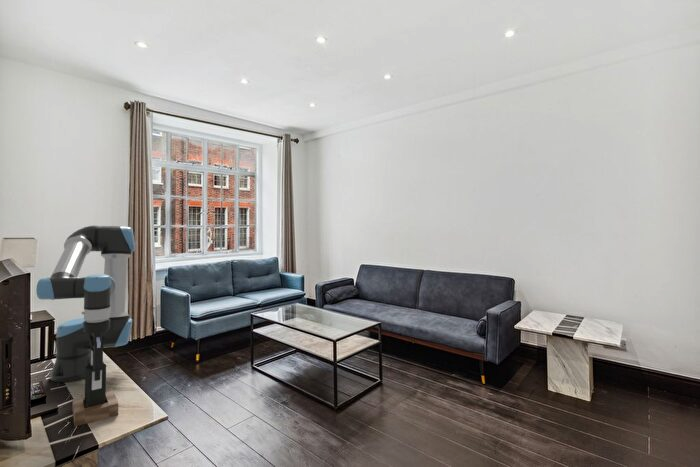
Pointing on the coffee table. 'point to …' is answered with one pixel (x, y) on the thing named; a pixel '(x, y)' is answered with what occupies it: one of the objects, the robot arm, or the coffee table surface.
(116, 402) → the block
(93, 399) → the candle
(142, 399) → the coffee table surface
